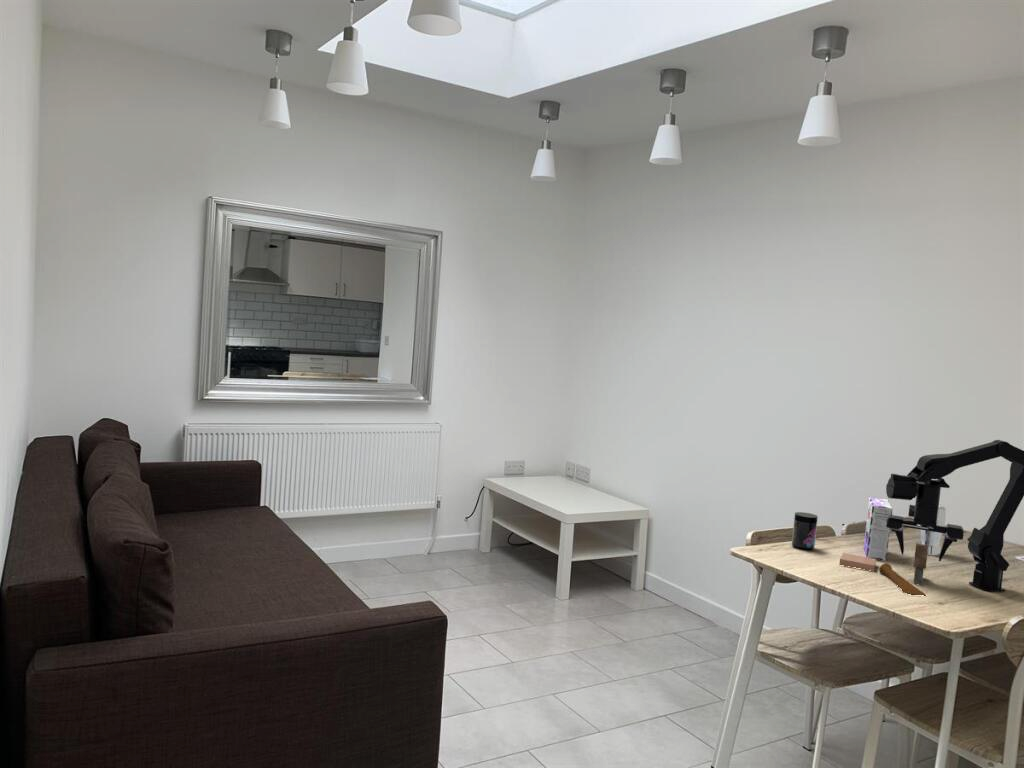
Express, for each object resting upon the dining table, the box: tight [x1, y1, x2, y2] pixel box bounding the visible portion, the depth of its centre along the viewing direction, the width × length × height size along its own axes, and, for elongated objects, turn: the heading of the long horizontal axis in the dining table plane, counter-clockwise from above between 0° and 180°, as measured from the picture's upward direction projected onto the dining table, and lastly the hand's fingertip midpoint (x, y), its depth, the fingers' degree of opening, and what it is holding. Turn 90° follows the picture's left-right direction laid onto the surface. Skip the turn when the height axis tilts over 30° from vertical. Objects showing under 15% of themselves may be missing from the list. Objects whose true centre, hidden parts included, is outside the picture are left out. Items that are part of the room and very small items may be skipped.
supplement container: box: [791, 511, 819, 552], centre depth 249 cm, size 7×7×10 cm
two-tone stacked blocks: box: [913, 543, 928, 586], centre depth 223 cm, size 3×9×10 cm, turn 152°
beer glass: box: [919, 505, 947, 557], centre depth 255 cm, size 7×7×15 cm
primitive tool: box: [878, 563, 927, 596], centre depth 218 cm, size 19×6×4 cm, turn 3°
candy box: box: [863, 496, 893, 562], centre depth 248 cm, size 14×6×16 cm, turn 160°
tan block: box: [838, 552, 877, 572], centre depth 234 cm, size 2×8×9 cm
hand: (920, 557), depth 223 cm, fingers open, 9 cm apart
